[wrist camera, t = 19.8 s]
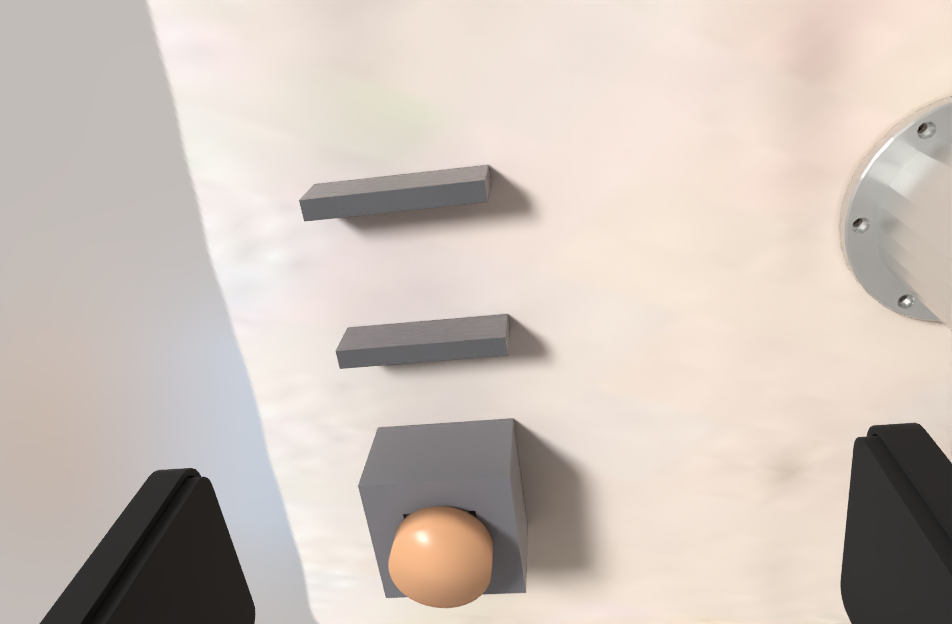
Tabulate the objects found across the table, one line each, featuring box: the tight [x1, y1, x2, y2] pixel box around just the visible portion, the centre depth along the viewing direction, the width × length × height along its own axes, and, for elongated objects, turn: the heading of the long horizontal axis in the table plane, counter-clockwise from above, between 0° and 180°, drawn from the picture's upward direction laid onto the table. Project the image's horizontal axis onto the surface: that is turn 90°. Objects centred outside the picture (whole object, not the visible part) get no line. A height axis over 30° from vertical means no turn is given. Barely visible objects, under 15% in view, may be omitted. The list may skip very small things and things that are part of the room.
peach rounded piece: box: [388, 506, 493, 608], centre depth 47 cm, size 6×6×7 cm
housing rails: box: [299, 165, 510, 369], centre depth 43 cm, size 10×10×3 cm
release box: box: [358, 419, 528, 598], centre depth 48 cm, size 9×9×6 cm
